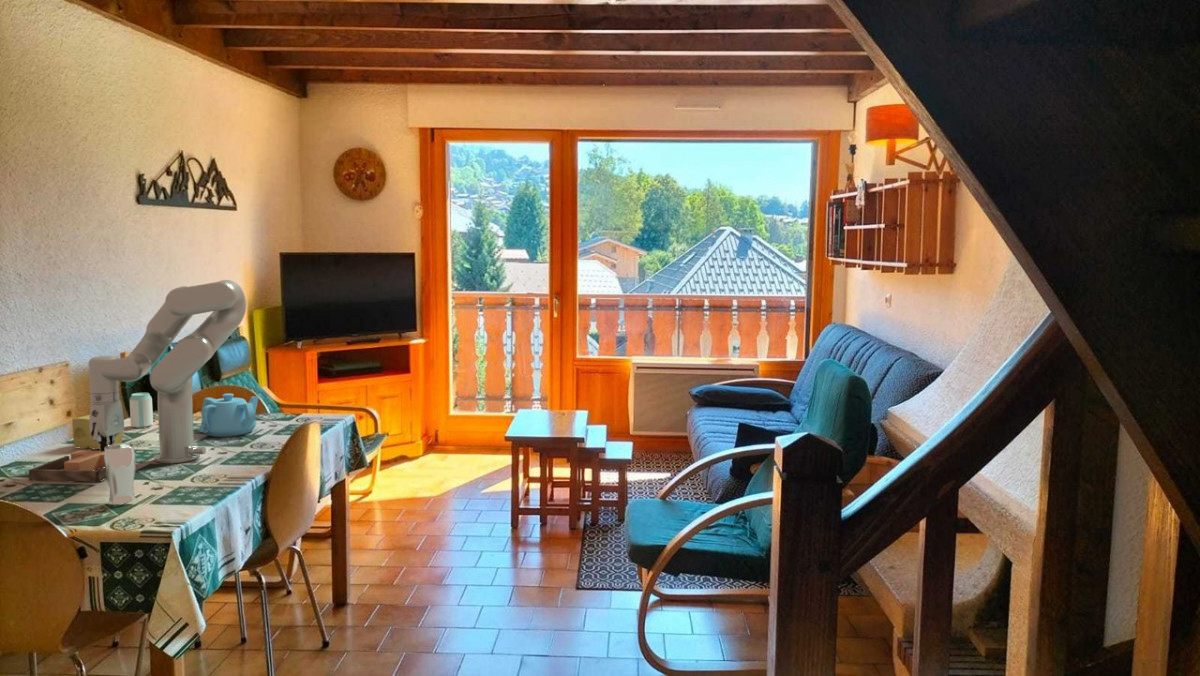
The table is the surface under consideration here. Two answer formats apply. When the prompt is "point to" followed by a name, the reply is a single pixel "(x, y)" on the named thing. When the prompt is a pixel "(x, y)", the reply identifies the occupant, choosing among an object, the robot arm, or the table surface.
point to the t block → (85, 460)
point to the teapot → (228, 416)
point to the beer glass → (120, 472)
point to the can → (141, 410)
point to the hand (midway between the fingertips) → (107, 456)
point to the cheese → (87, 434)
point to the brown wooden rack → (64, 472)
